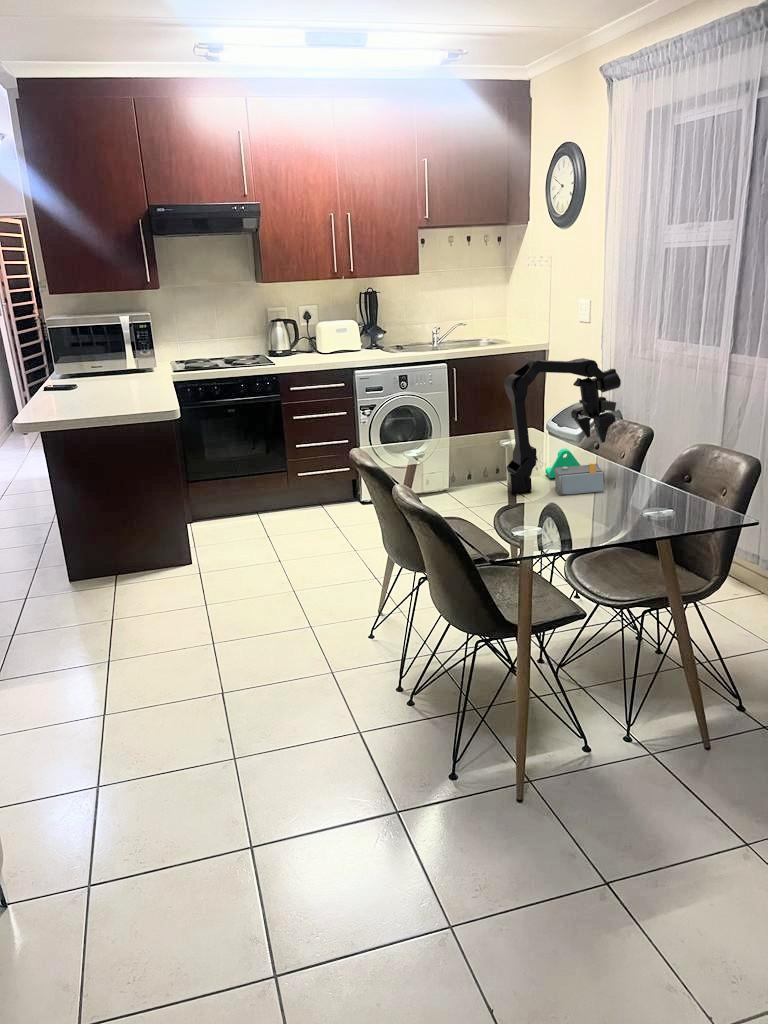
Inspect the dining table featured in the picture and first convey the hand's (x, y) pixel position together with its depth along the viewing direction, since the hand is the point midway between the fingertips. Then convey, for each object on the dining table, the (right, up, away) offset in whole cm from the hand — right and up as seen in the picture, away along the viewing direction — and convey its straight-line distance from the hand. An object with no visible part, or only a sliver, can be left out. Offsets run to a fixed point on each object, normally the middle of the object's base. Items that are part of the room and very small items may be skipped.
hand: (595, 439), depth 257 cm
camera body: (-7, -17, -6) cm, 20 cm away
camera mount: (-8, -12, +10) cm, 18 cm away
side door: (-8, -18, -10) cm, 22 cm away
